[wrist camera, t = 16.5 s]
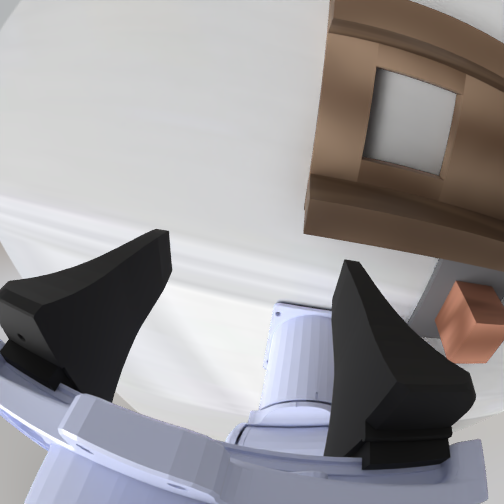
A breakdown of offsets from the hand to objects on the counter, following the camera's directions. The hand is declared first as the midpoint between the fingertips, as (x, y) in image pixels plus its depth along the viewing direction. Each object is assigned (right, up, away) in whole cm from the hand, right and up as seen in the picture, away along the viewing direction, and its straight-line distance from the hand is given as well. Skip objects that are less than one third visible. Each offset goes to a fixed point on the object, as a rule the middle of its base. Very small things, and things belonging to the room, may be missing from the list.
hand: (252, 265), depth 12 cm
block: (+19, -4, +9) cm, 21 cm away
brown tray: (+15, +8, +3) cm, 18 cm away
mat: (+19, -4, +10) cm, 21 cm away
